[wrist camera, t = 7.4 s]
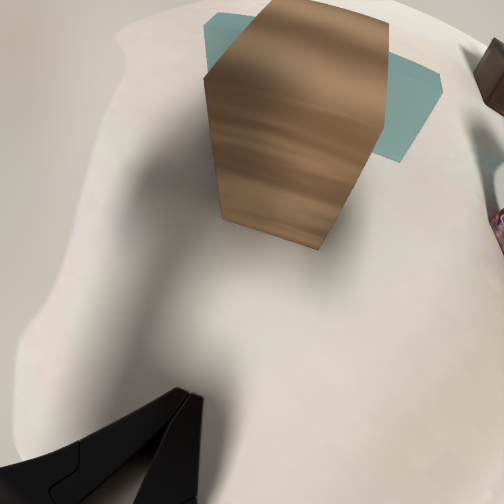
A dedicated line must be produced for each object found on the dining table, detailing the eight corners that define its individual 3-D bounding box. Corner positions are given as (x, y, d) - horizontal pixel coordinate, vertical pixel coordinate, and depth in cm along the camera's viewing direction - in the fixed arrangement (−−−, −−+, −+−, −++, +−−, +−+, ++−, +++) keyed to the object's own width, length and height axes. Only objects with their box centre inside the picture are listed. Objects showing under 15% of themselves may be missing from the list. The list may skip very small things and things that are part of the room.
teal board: (399, 162, 28) (442, 92, 18) (211, 105, 30) (203, 25, 20) (400, 142, 29) (439, 73, 19) (222, 89, 31) (218, 12, 22)
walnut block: (318, 250, 24) (384, 127, 11) (222, 219, 25) (203, 78, 12) (345, 142, 28) (388, 23, 15) (267, 119, 29) (277, -6, 16)
